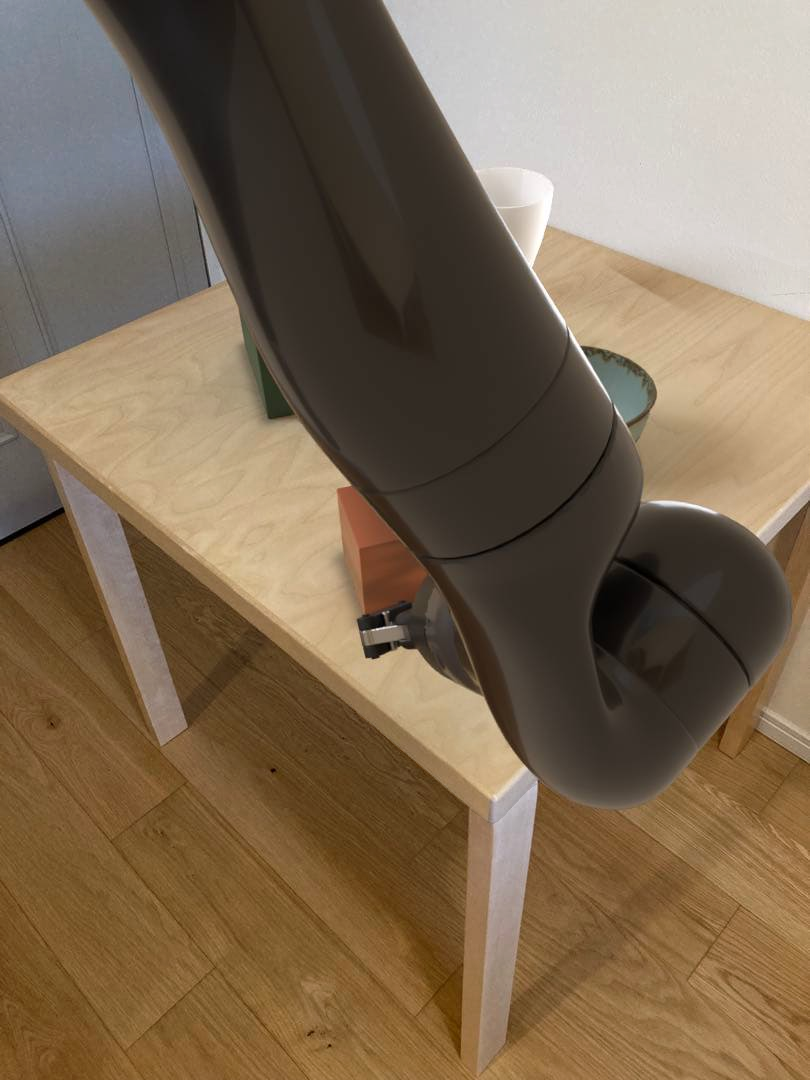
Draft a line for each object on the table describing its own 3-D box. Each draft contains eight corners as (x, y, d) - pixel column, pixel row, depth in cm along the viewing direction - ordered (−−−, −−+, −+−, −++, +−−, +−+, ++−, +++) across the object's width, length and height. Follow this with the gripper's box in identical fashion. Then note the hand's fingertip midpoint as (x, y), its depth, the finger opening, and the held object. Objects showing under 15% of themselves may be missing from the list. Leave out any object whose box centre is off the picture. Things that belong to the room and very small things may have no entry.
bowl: (616, 522, 78) (630, 450, 72) (474, 479, 82) (477, 409, 77) (659, 433, 86) (674, 363, 81) (528, 399, 91) (534, 330, 85)
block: (365, 620, 71) (358, 548, 65) (344, 559, 75) (336, 488, 70) (449, 599, 72) (450, 527, 66) (423, 541, 77) (421, 469, 71)
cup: (437, 310, 104) (437, 196, 94) (477, 270, 110) (481, 160, 100) (520, 332, 100) (529, 215, 90) (557, 290, 106) (568, 177, 97)
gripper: (599, 523, 47) (504, 535, 64) (357, 581, 45) (325, 577, 62) (631, 661, 47) (527, 636, 64) (391, 726, 45) (350, 683, 62)
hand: (428, 608), depth 63 cm, fingers closed
